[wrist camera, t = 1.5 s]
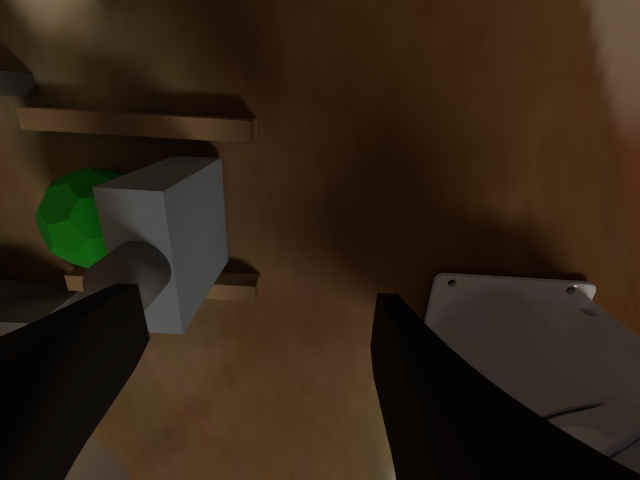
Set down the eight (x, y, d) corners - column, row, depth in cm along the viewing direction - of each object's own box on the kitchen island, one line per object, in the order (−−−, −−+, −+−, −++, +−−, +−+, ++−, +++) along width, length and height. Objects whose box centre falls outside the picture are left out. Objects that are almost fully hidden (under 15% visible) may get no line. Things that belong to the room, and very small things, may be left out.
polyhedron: (64, 190, 19) (-17, 220, 14) (125, 142, 17) (58, 158, 13) (128, 257, 20) (73, 303, 16) (189, 217, 19) (147, 254, 15)
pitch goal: (256, 86, 16) (234, 83, 13) (260, 308, 21) (246, 351, 18) (-120, 64, 16) (-252, 54, 13) (-25, 290, 21) (-98, 330, 18)
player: (221, 158, 17) (137, 205, 10) (228, 260, 20) (165, 362, 12) (175, 155, 17) (56, 200, 10) (187, 258, 20) (99, 359, 12)
